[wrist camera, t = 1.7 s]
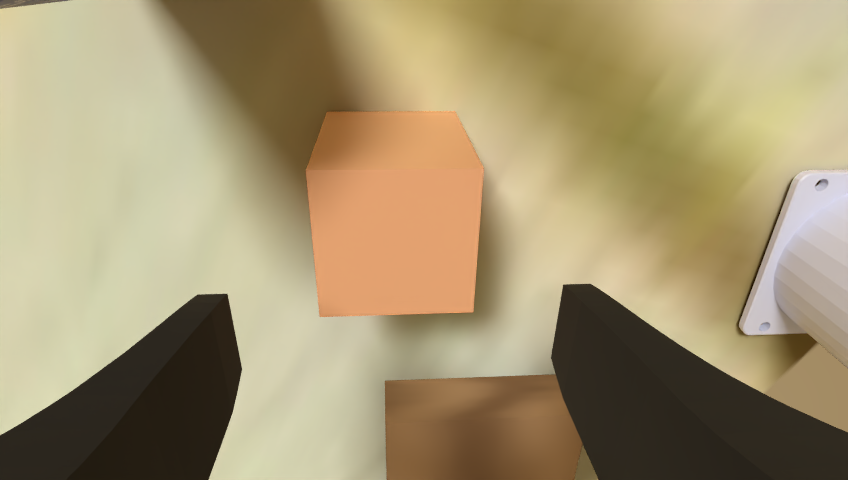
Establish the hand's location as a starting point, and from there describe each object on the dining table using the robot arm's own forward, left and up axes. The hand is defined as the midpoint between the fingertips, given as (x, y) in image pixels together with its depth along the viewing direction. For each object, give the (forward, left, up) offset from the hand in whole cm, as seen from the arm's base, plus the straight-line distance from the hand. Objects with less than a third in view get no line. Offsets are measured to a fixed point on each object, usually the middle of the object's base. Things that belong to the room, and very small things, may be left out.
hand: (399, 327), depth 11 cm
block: (-4, +15, -10) cm, 18 cm away
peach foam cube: (0, 0, -10) cm, 10 cm away
